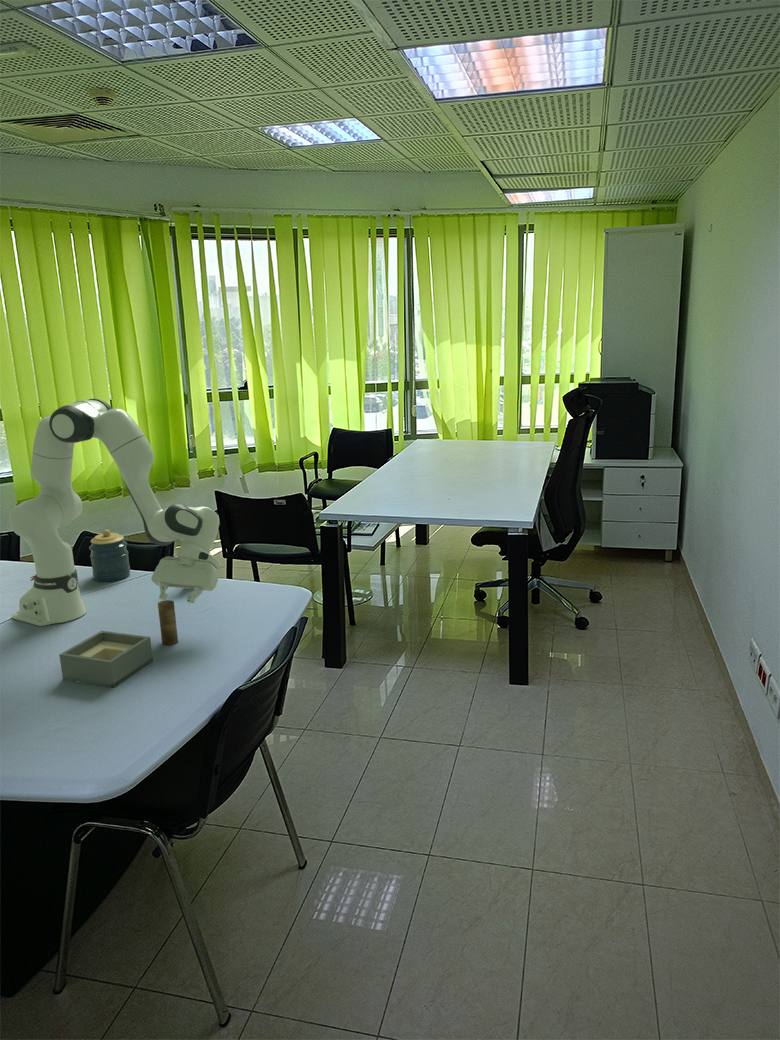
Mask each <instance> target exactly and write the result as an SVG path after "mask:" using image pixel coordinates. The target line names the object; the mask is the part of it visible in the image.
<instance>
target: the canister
mask: <svg viewBox="0 0 780 1040" xmlns="http://www.w3.org/2000/svg"><path fill="white" fill-rule="evenodd" d="M90 543H91V545H90V546H89V547H88V549H89V551H91V552H90V555H89V557H90V562H91V568H92V577H93V579H94V580H95V581H96V582H107V583H108V582H115V581H119V580H123V579H126V578H128V577H129V576H130V575H131V566H130V561H129V551H128V550H127V546H128V542H127V541H125V536H123V535H121V534H120V533H117V532H111V530H110V529H104V530H103V531H102V533H100V534H97V535H95V536H94V537H93V538H92V539H91V540H90Z"/></svg>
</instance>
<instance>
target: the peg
mask: <svg viewBox="0 0 780 1040" xmlns="http://www.w3.org/2000/svg"><path fill="white" fill-rule="evenodd" d="M157 609H158V618H159V627H160V634H161V635H160V636H161V644H162V645H163V646H174V645H176V644H178V643H179V638H178V629H177V618H176V610H175V602H174V600H173V599H171V600H169V599H166V600H161V601H159V602H157Z"/></svg>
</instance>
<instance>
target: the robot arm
mask: <svg viewBox="0 0 780 1040" xmlns="http://www.w3.org/2000/svg"><path fill="white" fill-rule="evenodd" d="M92 438H94V439H98V440H100V441H101V442H102V443H103V445H104V446H105V447H106V449H107V451H108V452H109V454H110V456H111V457H112V459H113V461H114V462H115V464H116V467H117V468H118V470H119V472H120V475H121V477H122V481H123V483H124V485H125V487H126V489H127V491H128V493H129V495H130V497H131V500H132V501H133V503H134V505H135V507H136V509H137V511H138V512H139V514H140V517H141V519H142V523H143V528H144V532H145V535H146V537H147V538H148V540H149V541H150V542H152V543H153V544H155V545H157V546H161V547H165V546H169V545H171V544H173V543H174V542H175V541H176V540H179V541H181V543H180V546H179V549H178V552H177V555H176V556H170V555H167V556H165V557H163V558H161V559H160V560H159V563H158V564H157V566H156V567H155V570H154V571H153V573H152V575H151V581H152V583H154V584H155V585H156V586H158V587H159V592H160V593H159V596H158V598H159V599H160V600H161V601H165V600H168V599H167V598H168V596H169V595H168V594H167V593H166V592H167V591H166V590H168V588H175V589H176V588H180V589H183V588H186V589H187V590H194V591H193V592H192V593H191V594H188V595H187V599H186V602H187V603H189V604H194V603H195V601H196V599H197V598H198V597H199V596H200V595H201V594H202V593H203V591H208V592H211V591H214V589H216V587H217V584H218V581H219V577H220V572H219V571H220V570H221V567H222V564H221V563H220V561H219V560H218V559H217V558H216V557H215V556H214V555H212V554H211V548H212V545H214V543H215V541H216V538H217V535H218V532H219V527H220V517H219V514H218V513H217V512H216V511H215V510H213V509H212V508H211V507H208V506H202V505H200V506H196V507H194V506H187V505H185V504H181V503H174V504H173V503H172V504H171V505H169V506H167V507H165V508H164V509H163V508H162V507H161V505H160V503H159V501H158V499H157V498H156V495H155V493H154V491H153V490H152V487H151V484H150V481H149V480H150V472H151V469H152V467H153V465H154V459H155V454H154V450H153V448H152V446H151V444H150V442H149V439H148V438H147V437H146V435H145V433H144V432H143V431H142V429H141V428H140V426H139V425H138V424H137V422H136V421H135V420H134V419H133V418H132V417H131V415H130V414H129V413H128V412H127V411H126V410H124V409H123V408H116V407H115V408H112V406H111V405H110V404H109V403H108V402H106V401H104V400H102V399H98V398H89V399H84V400H77V401H74V402H72V403H69V404H66V405H63V406H61V407H59V408H57V409H56V410H54V411H53V413H52V414H51V415H48V416H45V417H43V418H42V419H40V420H39V422H38V425H37V428H36V432H35V435H34V438H33V439H34V440H33V444H32V456H31V465H30V477H31V478H32V479H33V481H35V482H36V483H38V484H39V490H40V491H39V495H38V496H36V497H33V498H29V499H26V500H23V501H22V502H21V503H19V504H17V505H16V506H15V507H13V508H12V509H11V510H10V512H9V514H8V524H9V527H10V529H11V530H12V532H14V533H15V534H16V535H17V536H19V537H21V538H22V539H24V541H26V544H27V545H28V547H29V548H30V551H31V553H32V558H33V562H34V569H35V575H32V576H30V577H29V579H30V582H32V581H33V585H32V587H31V588H30V589H28V590H27V591H26V592H25V593H24V594H23V595H22V596H21V597H20V598H19V601H18V603H19V604H18V607H19V609H18V610H16V611H15V612H14V613H12V615H11V616H12V617H11V618H12V620H13V619H14V620H16V621H20V622H24V623H27V624H30V625H34V626H38V627H45V626H48V625H53V624H61V623H66V622H71V621H74V620H76V619H78V618H81V617H83V616H84V615H86V613H87V609H86V606H85V602H84V601H83V598H82V594H81V591H80V586H79V584H78V581H79V579H78V578H79V577H78V572H77V571H78V570H77V569H75V562H74V555H73V548H72V546H71V545H70V543H68V542H67V541H63V539H62V538H61V537H60V534H59V530H58V529H59V528H61V527H63V526H66V525H69V524H70V523H72V522H73V521H74V520H76V519H77V518H79V516H80V515H81V514H82V512H83V507H84V506H83V501H82V499H81V497H80V496H79V495H78V494H77V493H76V492H75V491H74V487H73V482H72V469H73V459H74V448H75V444H76V443H81V442H85V441H90V440H91V439H92Z"/></svg>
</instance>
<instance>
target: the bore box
mask: <svg viewBox="0 0 780 1040" xmlns="http://www.w3.org/2000/svg"><path fill="white" fill-rule="evenodd" d="M58 656H59V661H60V669H61V675H62V680H63V679H65V681H70V680H72V681H71V682H76V681H79V682H78V683H82V682H85V683H84V684H88V683H90V684H89V685H94V684H96V685H95V686H100V685H102V687H108V688H112V689H113V688H117V686H118V685H120V684H121V683H123V682H124V681H126V680H127V679H129V678H131V677H132V676H133V675H134V674H136V673H137V672H138V673H139V671H141V670H142V669H144V668H145V667H146V666H148V665H149V664H151V663H153V661H154V659H153V658H154V657H153V649H152V640H151V637H150V636H144V635H139V634H138V635H137V634H130V633H122V632H115V631H106V630H100V631H98V632H96V633H95V634H93V635H91V636H90V637H88V638H87V639H86V638H85V640H82V641H80V642H79V643H78V644H75V645H73V646H72V647H70V648H69V649H67V650H64V651H63V652H61V653H60V654H59V655H58Z"/></svg>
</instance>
